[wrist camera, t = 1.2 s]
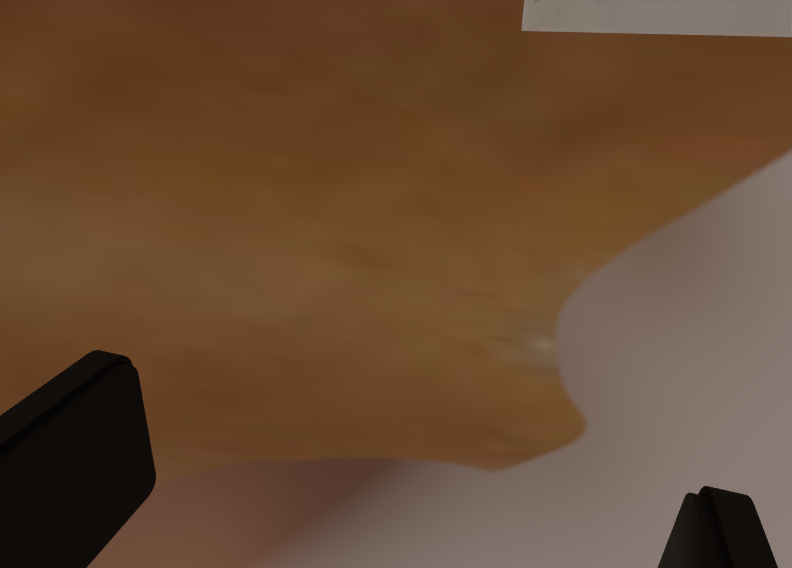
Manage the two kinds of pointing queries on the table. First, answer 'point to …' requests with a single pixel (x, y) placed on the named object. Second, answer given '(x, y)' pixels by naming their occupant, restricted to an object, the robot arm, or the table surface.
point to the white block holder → (661, 16)
